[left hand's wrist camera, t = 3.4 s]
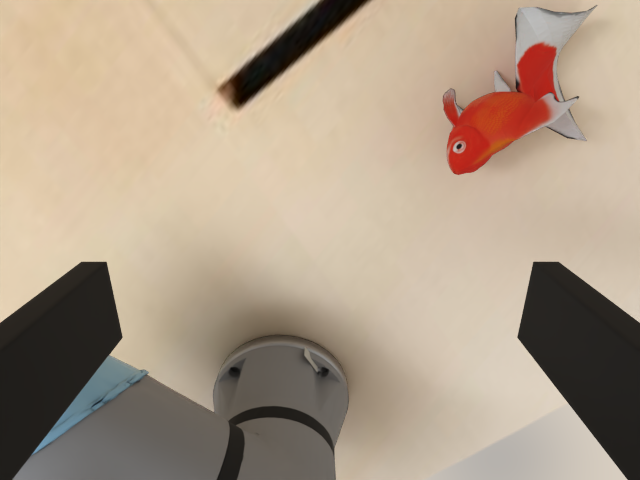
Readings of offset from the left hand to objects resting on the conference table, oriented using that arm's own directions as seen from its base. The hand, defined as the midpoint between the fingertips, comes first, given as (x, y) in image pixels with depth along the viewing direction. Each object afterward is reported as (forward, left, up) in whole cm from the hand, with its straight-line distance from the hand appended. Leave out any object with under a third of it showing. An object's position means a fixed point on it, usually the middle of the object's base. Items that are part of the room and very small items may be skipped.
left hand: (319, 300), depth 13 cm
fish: (+6, -16, -26) cm, 31 cm away
